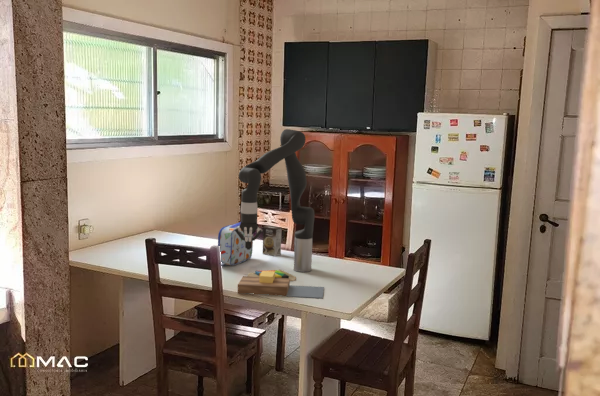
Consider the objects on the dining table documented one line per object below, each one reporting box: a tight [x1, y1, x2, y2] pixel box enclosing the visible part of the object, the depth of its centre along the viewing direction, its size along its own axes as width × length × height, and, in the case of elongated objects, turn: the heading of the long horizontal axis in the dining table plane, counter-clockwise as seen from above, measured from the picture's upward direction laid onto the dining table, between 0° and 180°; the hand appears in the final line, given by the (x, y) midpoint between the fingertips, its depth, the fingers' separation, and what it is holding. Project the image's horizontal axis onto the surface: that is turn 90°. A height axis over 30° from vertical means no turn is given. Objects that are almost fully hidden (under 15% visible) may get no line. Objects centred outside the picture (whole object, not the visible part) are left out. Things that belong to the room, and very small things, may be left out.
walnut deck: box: [237, 275, 291, 297], centre depth 252 cm, size 14×22×4 cm, turn 86°
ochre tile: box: [259, 270, 275, 283], centre depth 254 cm, size 9×6×3 cm, turn 176°
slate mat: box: [285, 284, 325, 299], centre depth 251 cm, size 16×16×1 cm
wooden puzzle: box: [246, 269, 297, 282], centre depth 272 cm, size 18×19×4 cm
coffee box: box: [262, 225, 283, 257], centre depth 320 cm, size 9×6×16 cm
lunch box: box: [217, 221, 254, 266], centre depth 300 cm, size 28×10×22 cm, turn 158°
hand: (248, 249), depth 253 cm, fingers closed
